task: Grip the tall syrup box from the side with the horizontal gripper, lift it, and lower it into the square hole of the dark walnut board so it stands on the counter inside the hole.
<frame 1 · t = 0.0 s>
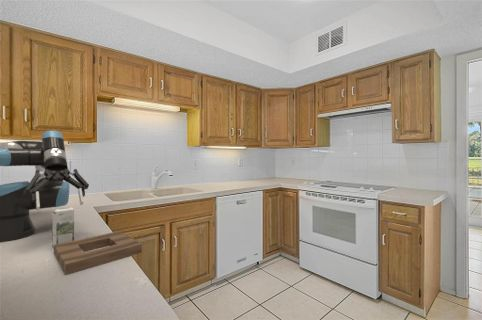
hand: (61, 205, 90), 15 cm above the countertop, tool tilted 35°, fingers open, 13 cm apart
syrup box: (63, 246, 89), on the countertop
hole board: (97, 252, 82), on the countertop
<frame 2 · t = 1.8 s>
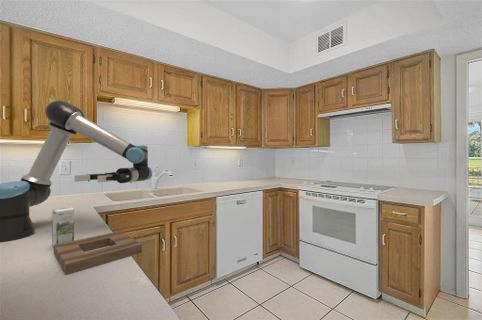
hand: (86, 178, 98), 25 cm above the countertop, tool horizontal, fingers open, 13 cm apart
nothing on the countertop moved.
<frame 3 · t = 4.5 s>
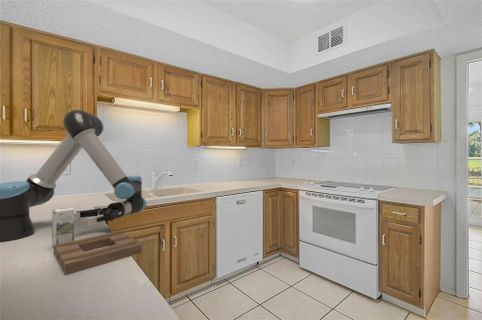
hand: (75, 220, 93), 9 cm above the countertop, tool horizontal, fingers open, 13 cm apart
nothing on the countertop moved.
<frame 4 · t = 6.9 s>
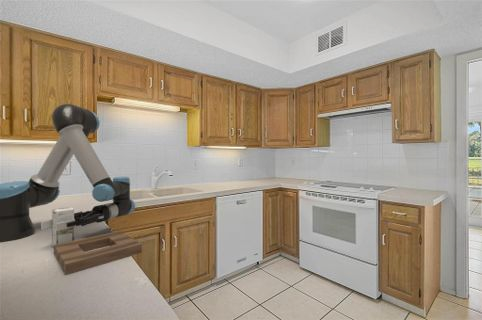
hand: (48, 226, 84), 9 cm above the countertop, tool horizontal, fingers closed on syrup box, 7 cm apart
syrup box: (63, 246, 89), on the countertop, touching gripper
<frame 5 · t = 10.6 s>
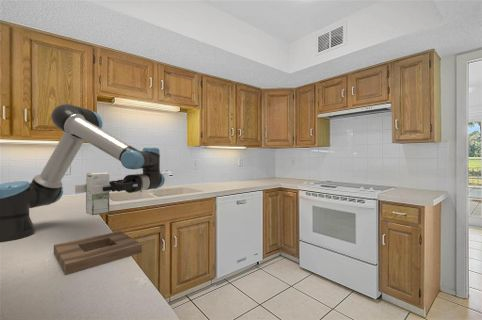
hand: (84, 189, 78), 23 cm above the countertop, tool horizontal, fingers closed on syrup box, 7 cm apart
syrup box: (98, 213, 82), point 14 cm above the countertop, touching gripper
when the fingers open (10 cm above the countertop, at t = 14.1 s): syrup box drops 1 cm, resting in hole board.
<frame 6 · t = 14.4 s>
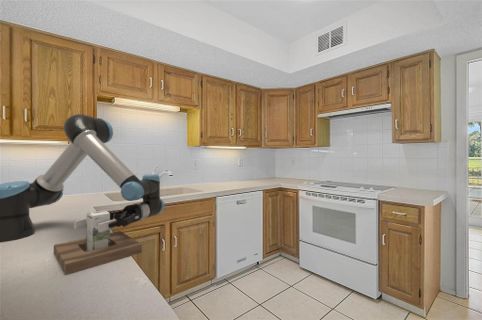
hand: (86, 226, 79), 10 cm above the countertop, tool horizontal, fingers open, 10 cm apart
syrup box: (98, 253, 82), resting in hole board
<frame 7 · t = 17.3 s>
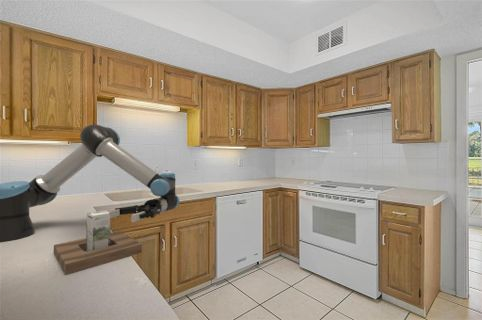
hand: (118, 217, 91), 11 cm above the countertop, tool horizontal, fingers open, 13 cm apart
nothing on the countertop moved.
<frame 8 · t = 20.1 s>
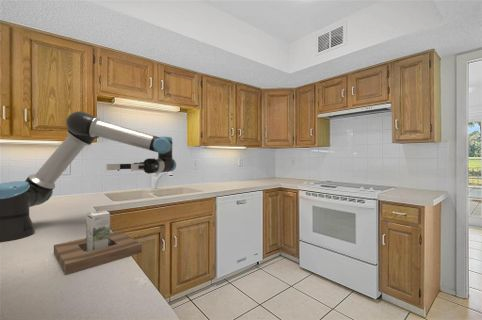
hand: (119, 167, 98), 30 cm above the countertop, tool horizontal, fingers open, 13 cm apart
nothing on the countertop moved.
at the end: syrup box 0.1 cm off-centre on the hole board, point 0.0 cm above the hole board's base; syrup box tilted 0°; the gripper is holding nothing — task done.
